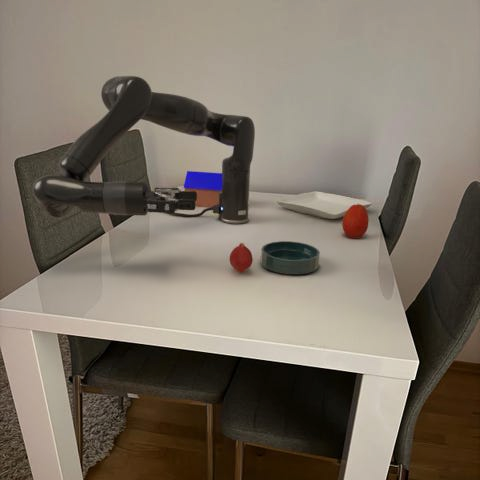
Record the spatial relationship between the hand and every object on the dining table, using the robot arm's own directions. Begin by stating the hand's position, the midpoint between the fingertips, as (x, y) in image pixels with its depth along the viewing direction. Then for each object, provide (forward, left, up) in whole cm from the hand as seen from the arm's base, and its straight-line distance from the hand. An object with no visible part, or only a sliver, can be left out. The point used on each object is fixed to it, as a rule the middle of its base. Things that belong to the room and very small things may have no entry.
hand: (196, 200), depth 106 cm
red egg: (+23, +54, -18) cm, 62 cm away
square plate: (+3, +79, -18) cm, 81 cm away
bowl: (+17, +18, -18) cm, 31 cm away
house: (-36, +61, -18) cm, 73 cm away
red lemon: (+9, +6, -18) cm, 21 cm away
